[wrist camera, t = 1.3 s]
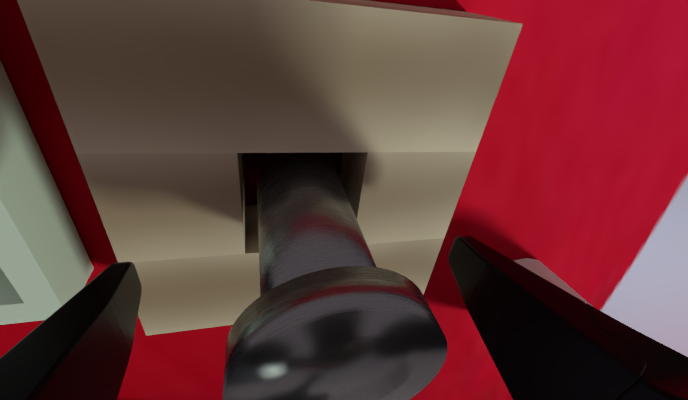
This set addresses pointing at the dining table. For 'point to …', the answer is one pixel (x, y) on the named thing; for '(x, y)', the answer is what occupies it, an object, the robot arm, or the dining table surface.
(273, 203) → the pin
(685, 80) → the dining table surface
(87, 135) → the hole block
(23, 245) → the tray
